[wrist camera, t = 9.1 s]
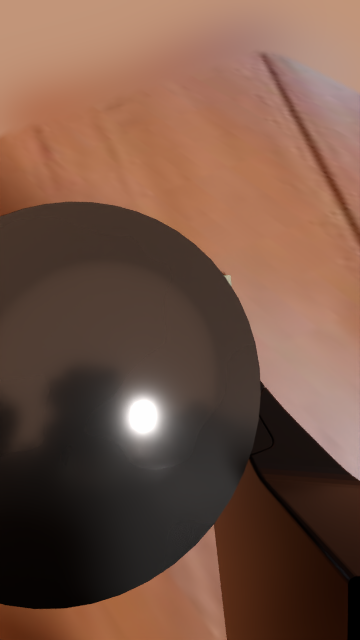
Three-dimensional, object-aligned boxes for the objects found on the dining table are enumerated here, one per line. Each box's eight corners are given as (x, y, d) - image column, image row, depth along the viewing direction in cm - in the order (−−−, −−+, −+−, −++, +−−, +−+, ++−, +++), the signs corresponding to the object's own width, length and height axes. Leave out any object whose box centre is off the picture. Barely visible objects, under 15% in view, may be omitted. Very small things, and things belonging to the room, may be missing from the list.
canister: (169, 409, 15) (148, 699, 2) (105, 376, 15) (-230, 478, 3) (201, 344, 16) (317, 297, 3) (139, 313, 16) (6, 147, 3)
